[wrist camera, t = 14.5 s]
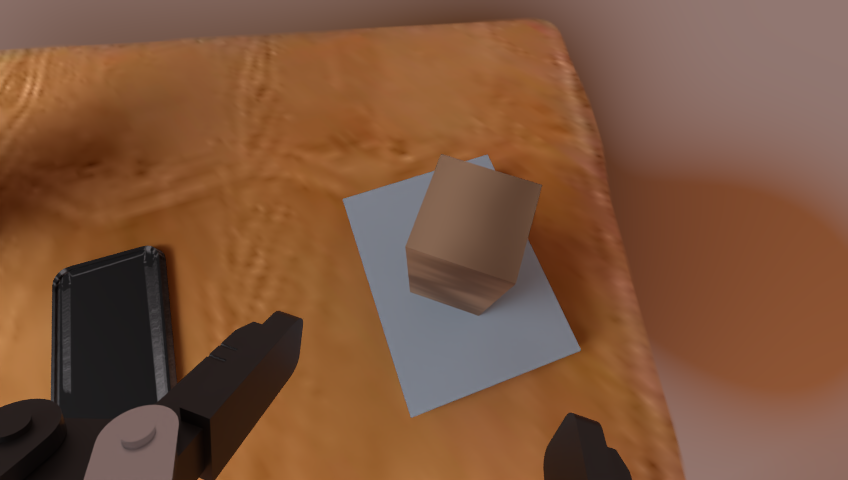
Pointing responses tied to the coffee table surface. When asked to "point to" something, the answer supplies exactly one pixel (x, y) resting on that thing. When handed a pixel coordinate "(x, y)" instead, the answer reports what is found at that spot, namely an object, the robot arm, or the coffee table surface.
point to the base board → (450, 309)
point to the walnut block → (470, 235)
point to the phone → (112, 335)
